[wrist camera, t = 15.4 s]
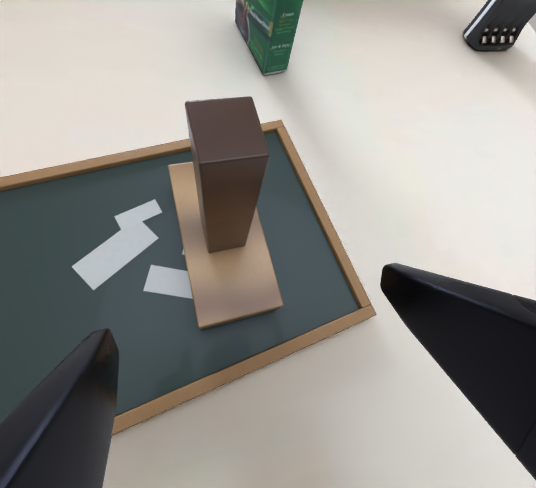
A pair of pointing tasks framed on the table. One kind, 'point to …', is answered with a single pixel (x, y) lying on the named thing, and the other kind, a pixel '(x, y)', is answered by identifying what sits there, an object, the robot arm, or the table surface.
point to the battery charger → (499, 24)
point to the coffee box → (269, 30)
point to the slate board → (156, 277)
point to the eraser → (225, 212)
